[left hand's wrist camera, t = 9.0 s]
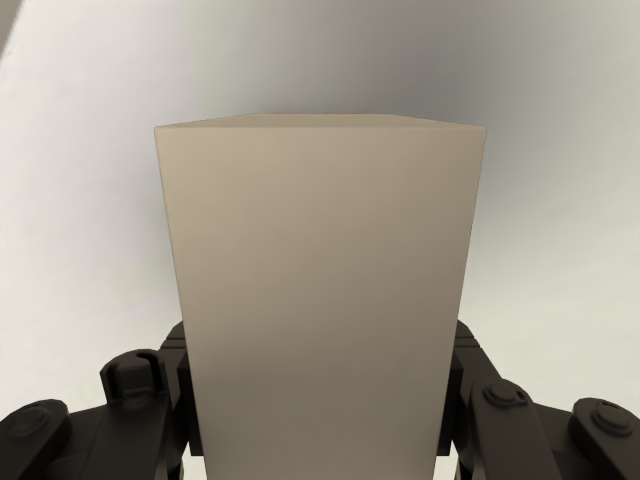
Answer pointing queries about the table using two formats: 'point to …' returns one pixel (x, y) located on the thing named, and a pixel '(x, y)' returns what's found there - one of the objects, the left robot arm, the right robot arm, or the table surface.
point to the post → (320, 286)
